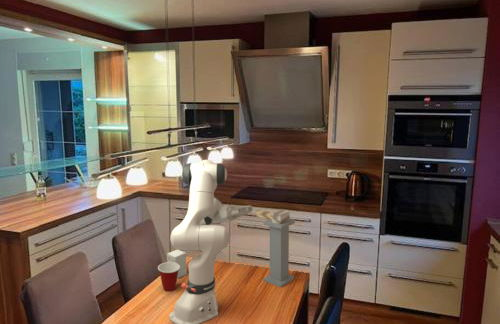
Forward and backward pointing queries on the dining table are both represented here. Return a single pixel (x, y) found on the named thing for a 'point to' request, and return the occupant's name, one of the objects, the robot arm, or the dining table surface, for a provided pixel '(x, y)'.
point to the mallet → (274, 215)
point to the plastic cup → (169, 275)
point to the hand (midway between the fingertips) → (245, 209)
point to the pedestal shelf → (279, 253)
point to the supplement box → (178, 261)
